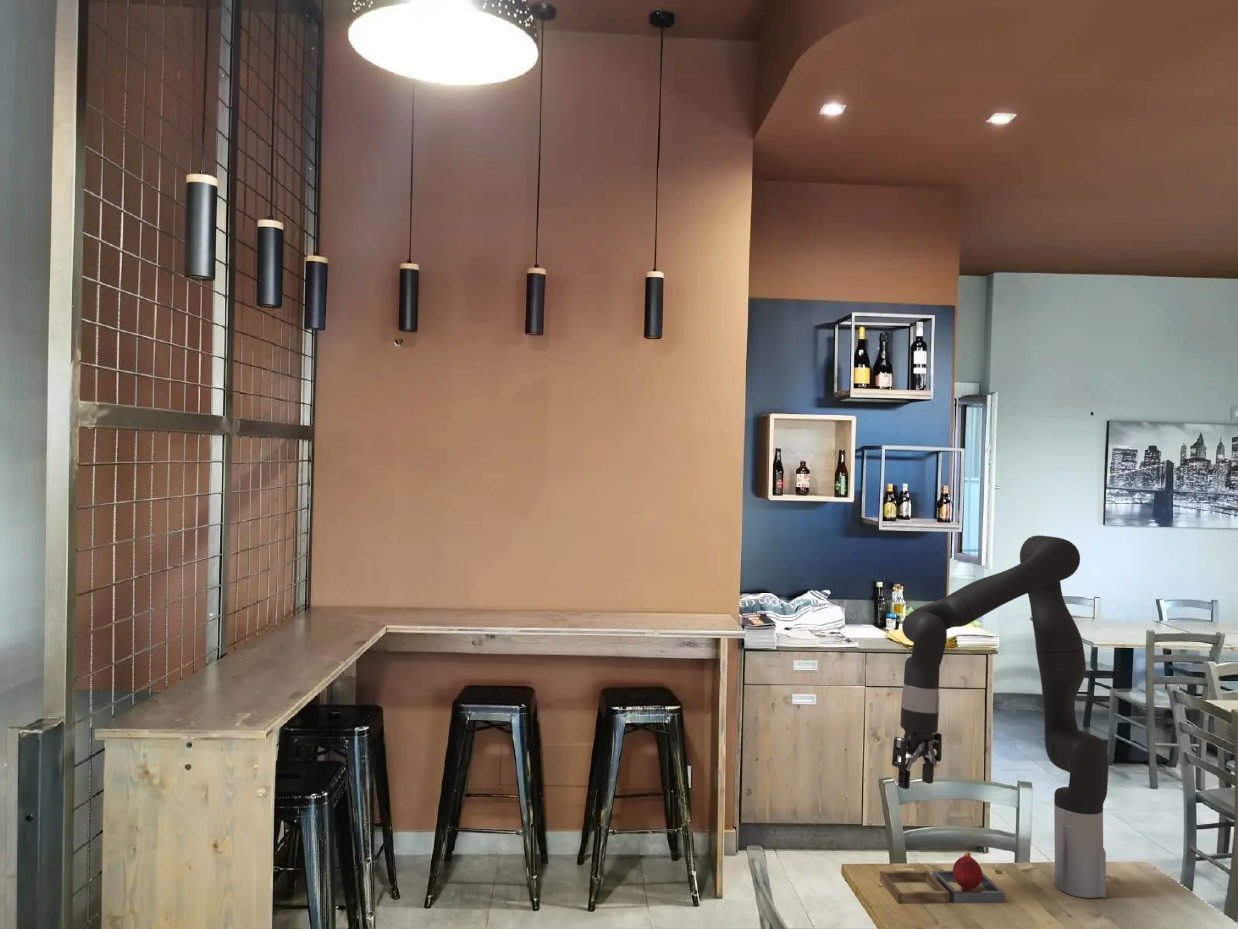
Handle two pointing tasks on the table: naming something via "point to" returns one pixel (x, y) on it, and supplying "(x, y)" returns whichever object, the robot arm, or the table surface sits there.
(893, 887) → the walnut frame
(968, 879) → the pomegranate
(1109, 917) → the table surface
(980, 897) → the grey frame
